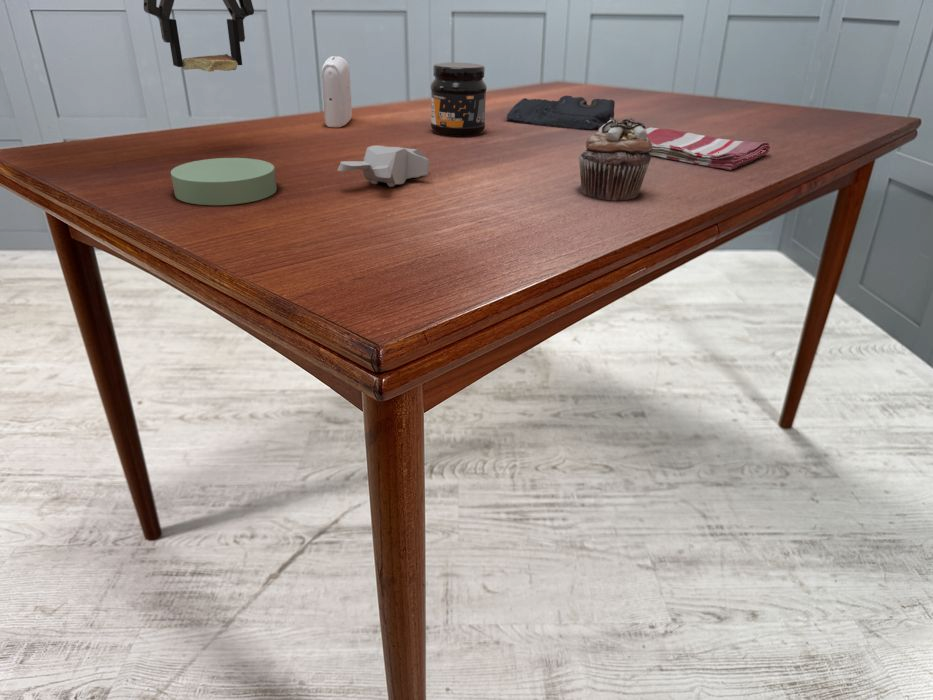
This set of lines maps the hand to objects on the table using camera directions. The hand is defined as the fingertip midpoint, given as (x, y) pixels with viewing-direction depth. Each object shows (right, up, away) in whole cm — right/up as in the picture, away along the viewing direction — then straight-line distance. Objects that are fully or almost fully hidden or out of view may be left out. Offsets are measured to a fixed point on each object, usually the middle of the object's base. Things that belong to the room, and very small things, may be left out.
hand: (208, 65), depth 106 cm
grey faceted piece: (+30, -21, -10) cm, 38 cm away
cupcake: (+61, -23, -12) cm, 66 cm away
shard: (0, -1, 0) cm, 1 cm away
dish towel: (+80, -10, +13) cm, 82 cm away
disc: (+9, -24, -16) cm, 30 cm away
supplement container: (+39, -3, +24) cm, 46 cm away
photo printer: (+15, 0, +29) cm, 33 cm away
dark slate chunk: (+61, +4, +38) cm, 72 cm away
